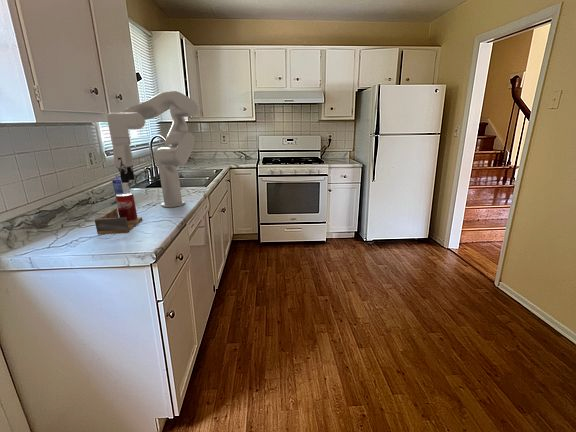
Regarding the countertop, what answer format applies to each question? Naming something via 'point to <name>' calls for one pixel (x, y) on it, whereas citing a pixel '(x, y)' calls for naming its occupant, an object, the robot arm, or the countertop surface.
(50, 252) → the countertop surface
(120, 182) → the ink cartridge box
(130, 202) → the soda can
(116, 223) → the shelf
